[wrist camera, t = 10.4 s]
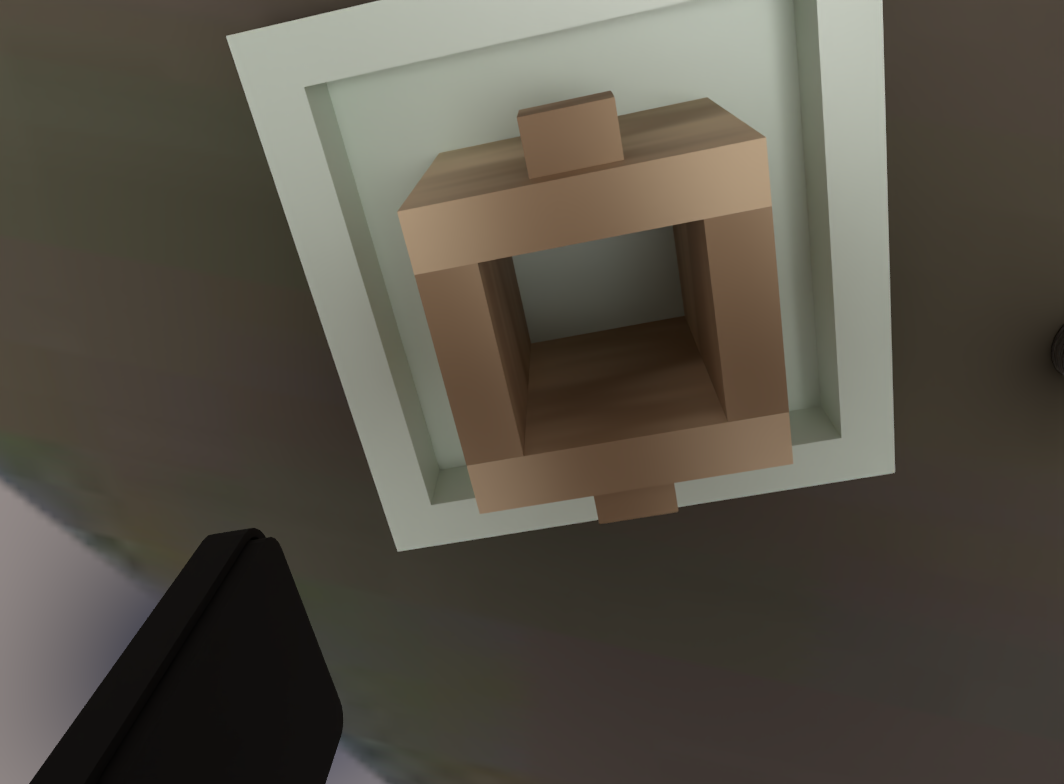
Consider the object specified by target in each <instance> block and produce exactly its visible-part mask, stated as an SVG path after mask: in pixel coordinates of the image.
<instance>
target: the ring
mask: <svg viewBox="0 0 1064 784" xmlns="http://www.w3.org/2000/svg"><path fill="white" fill-rule="evenodd" d="M517 122H518V127H519V132H520V136H519V137H514V138H509V139H505V140H500V141H495V142H490V143H485V144H481V145H476V146H471V147H466V148H461V149H457V150H452V151H447V152H442V153H439V154H438V155H437V157H436V158H435V160H434V161H433V162H432V164H431V165H430V167H429V168H428V169H427V171H426V172H425V174H424V175H423V176H422V178H421V179H420V181H419V182H418V183H417V185H416V186H415V187H414V189H413V190H412V192H411V193H410V194H409V196H408V197H407V199H406V200H405V201H404V203H403V204H402V206H401V207H400V208H399V210H398V211H397V214H398V217H399V221H400V225H401V228H402V232H403V235H404V239H405V243H406V246H407V250H408V254H409V257H410V261H411V265H412V268H413V272H414V276H415V279H416V283H417V287H418V290H419V294H420V298H421V301H422V305H423V309H424V312H425V316H426V320H427V323H428V327H429V330H430V334H431V338H432V341H433V345H434V349H435V352H436V356H437V360H438V363H439V367H440V371H441V374H442V378H443V382H444V385H445V389H446V393H447V396H448V400H449V404H450V407H451V411H452V414H453V418H454V422H455V425H456V429H457V433H458V436H459V440H460V444H461V447H462V451H463V455H464V458H465V462H466V466H467V469H468V473H469V477H470V480H471V484H472V488H473V491H474V495H475V499H476V502H477V506H478V509H479V513H480V514H484V513H490V512H496V511H502V510H509V509H515V508H521V507H527V506H534V505H540V504H546V503H552V502H559V501H565V500H571V499H577V498H584V497H590V496H594V501H595V505H596V510H597V515H598V520H599V524H604V523H611V522H617V521H623V520H630V519H636V518H643V517H649V516H655V515H662V514H668V513H675V512H679V511H678V504H677V498H676V491H675V485H674V483H677V482H684V481H690V480H696V479H702V478H709V477H715V476H721V475H727V474H734V473H740V472H746V471H753V470H759V469H765V468H771V467H778V466H784V465H790V464H793V453H792V441H791V429H790V417H789V405H788V393H787V381H786V369H785V357H784V345H783V333H782V321H781V309H780V297H779V285H778V273H777V261H776V250H775V238H774V226H773V214H772V202H771V190H770V178H769V166H768V154H767V142H766V137H765V136H763V135H762V134H761V133H759V132H758V131H756V130H755V129H753V128H752V127H750V126H749V125H747V124H746V123H744V122H743V121H741V120H740V119H738V118H737V117H736V116H734V115H733V114H731V113H730V112H728V111H727V110H725V109H724V108H722V107H721V106H719V105H718V104H716V103H715V102H713V101H712V100H710V99H709V98H708V97H706V98H701V99H697V100H692V101H687V102H682V103H677V104H673V105H668V106H663V107H658V108H653V109H649V110H644V111H639V112H634V113H629V114H625V115H620V116H617V109H616V103H615V97H614V95H613V93H612V92H611V91H606V92H601V93H597V94H592V95H587V96H582V97H578V98H573V99H568V100H564V101H559V102H554V103H549V104H545V105H540V106H535V107H531V108H526V109H521V110H519V112H518V115H517ZM672 225H673V232H674V240H675V247H676V255H677V262H678V269H679V277H680V284H681V292H682V299H683V307H684V314H685V316H680V317H675V318H669V319H664V320H658V321H653V322H647V323H642V324H636V325H630V326H625V327H619V328H614V329H608V330H603V331H597V332H592V333H586V334H581V335H575V336H570V337H564V338H559V339H553V340H548V341H542V342H537V343H531V341H530V336H529V332H528V327H527V322H526V318H525V313H524V309H523V304H522V300H521V295H520V291H519V286H518V282H517V277H516V273H515V268H514V264H513V259H512V256H516V255H521V254H526V253H532V252H537V251H542V250H547V249H552V248H558V247H563V246H568V245H573V244H578V243H584V242H589V241H594V240H599V239H604V238H609V237H615V236H620V235H625V234H630V233H635V232H641V231H646V230H651V229H656V228H661V227H666V226H672Z"/></svg>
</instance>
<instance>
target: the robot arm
mask: <svg viewBox="0 0 1064 784" xmlns="http://www.w3.org/2000/svg"><path fill="white" fill-rule="evenodd" d="M342 728H343V712H342V706H341V702H340V699H339V697H338V694H337V691H336V689H335V686H334V684H333V681H332V678H331V676H330V673H329V671H328V668H327V665H326V663H325V660H324V658H323V655H322V652H321V650H320V647H319V645H318V642H317V639H316V637H315V634H314V632H313V629H312V626H311V624H310V621H309V619H308V616H307V613H306V611H305V608H304V606H303V603H302V600H301V598H300V595H299V593H298V590H297V587H296V585H295V582H294V579H293V577H292V574H291V572H290V569H289V566H288V564H287V561H286V559H285V556H284V553H283V551H282V548H281V546H280V544H279V542H278V541H277V540H276V539H275V538H272V537H269V538H266V537H265V535H264V534H263V533H262V532H261V531H260V530H258V529H256V528H250V529H244V530H237V531H231V532H224V533H218V534H212V535H208V536H207V537H206V538H205V539H204V540H203V541H202V543H201V544H200V546H199V547H198V548H197V550H196V551H195V553H194V554H193V555H192V557H191V558H190V560H189V561H188V562H187V564H186V565H185V567H184V568H183V569H182V571H181V572H180V574H179V575H178V576H177V578H176V579H175V581H174V582H173V583H172V585H171V586H170V588H169V589H168V590H167V592H166V593H165V595H164V596H163V597H162V599H161V600H160V602H159V603H158V604H157V606H156V607H155V609H154V610H153V611H152V613H151V614H150V616H149V617H148V618H147V620H146V621H145V623H144V624H143V625H142V627H141V628H140V630H139V631H138V632H137V634H136V635H135V636H134V638H133V639H132V641H131V642H130V643H129V645H128V646H127V648H126V649H125V651H124V652H123V653H122V655H121V656H120V657H119V659H118V660H117V662H116V663H115V664H114V666H113V667H112V669H111V670H110V672H109V673H108V674H107V676H106V677H105V679H104V680H103V682H102V683H101V684H100V685H99V687H98V688H97V690H96V691H95V692H94V694H93V695H92V697H91V698H90V699H89V701H88V702H87V704H86V705H85V706H84V708H83V709H82V711H81V712H80V713H79V715H78V716H77V718H76V719H75V721H74V722H73V723H72V725H71V726H70V727H69V729H68V730H67V732H66V733H65V734H64V736H63V737H62V739H61V740H60V741H59V743H58V744H57V746H56V747H55V748H54V750H53V751H52V753H51V754H50V755H49V757H48V758H47V760H46V761H45V763H44V764H43V765H42V767H41V768H40V769H39V771H38V772H37V774H36V775H35V776H34V778H33V779H32V781H31V782H30V783H29V784H325V783H326V780H327V777H328V774H329V771H330V768H331V765H332V761H333V759H334V755H335V753H336V750H337V746H338V743H339V740H340V737H341V733H342Z"/></svg>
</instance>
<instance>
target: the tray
mask: <svg viewBox="0 0 1064 784" xmlns="http://www.w3.org/2000/svg"><path fill="white" fill-rule="evenodd" d="M226 38H227V41H228V44H229V47H230V50H231V53H232V56H233V59H234V62H235V65H236V68H237V71H238V74H239V77H240V80H241V83H242V86H243V89H244V92H245V95H246V98H247V101H248V104H249V107H250V110H251V113H252V116H253V119H254V122H255V125H256V128H257V131H258V134H259V137H260V140H261V143H262V146H263V149H264V152H265V155H266V158H267V161H268V164H269V167H270V170H271V173H272V176H273V179H274V182H275V185H276V188H277V191H278V194H279V197H280V200H281V203H282V206H283V209H284V212H285V215H286V218H287V221H288V224H289V227H290V230H291V233H292V236H293V239H294V242H295V245H296V248H297V251H298V254H299V257H300V260H301V263H302V266H303V269H304V272H305V275H306V278H307V281H308V284H309V287H310V290H311V293H312V296H313V299H314V302H315V305H316V308H317V311H318V314H319V317H320V320H321V323H322V326H323V329H324V332H325V335H326V338H327V341H328V344H329V347H330V350H331V353H332V356H333V359H334V362H335V365H336V368H337V371H338V374H339V377H340V380H341V383H342V386H343V389H344V392H345V395H346V398H347V401H348V404H349V407H350V410H351V413H352V416H353V419H354V422H355V425H356V428H357V431H358V434H359V437H360V440H361V443H362V446H363V449H364V452H365V455H366V458H367V461H368V464H369V467H370V470H371V473H372V476H373V479H374V482H375V485H376V488H377V491H378V494H379V497H380V500H381V503H382V506H383V509H384V512H385V515H386V518H387V521H388V524H389V527H390V530H391V533H392V536H393V539H394V542H395V545H396V548H397V551H398V552H399V551H405V550H411V549H418V548H424V547H430V546H437V545H443V544H449V543H456V542H462V541H468V540H474V539H481V538H487V537H493V536H500V535H506V534H512V533H519V532H525V531H531V530H538V529H544V528H550V527H556V526H563V525H569V524H575V523H582V522H588V521H594V520H598V515H597V510H596V505H595V501H594V496H590V497H584V498H577V499H571V500H565V501H559V502H552V503H546V504H540V505H534V506H527V507H521V508H515V509H509V510H502V511H496V512H490V513H484V514H480V513H479V509H478V506H477V502H476V499H475V495H474V491H473V488H472V484H471V480H470V477H469V473H468V469H467V466H466V462H465V458H464V455H463V451H462V447H461V444H460V440H459V436H458V433H457V429H456V425H455V422H454V418H453V414H452V411H451V407H450V404H449V400H448V396H447V393H446V389H445V385H444V382H443V378H442V374H441V371H440V367H439V363H438V360H437V356H436V352H435V349H434V345H433V341H432V338H431V334H430V330H429V327H428V323H427V320H426V316H425V312H424V309H423V305H422V301H421V298H420V294H419V290H418V287H417V283H416V279H415V276H414V272H413V268H412V265H411V261H410V257H409V254H408V250H407V246H406V243H405V239H404V235H403V232H402V228H401V225H400V221H399V217H398V214H397V211H398V210H399V208H400V207H401V206H402V204H403V203H404V201H405V200H406V199H407V197H408V196H409V194H410V193H411V192H412V190H413V189H414V187H415V186H416V185H417V183H418V182H419V181H420V179H421V178H422V176H423V175H424V174H425V172H426V171H427V169H428V168H429V167H430V165H431V164H432V162H433V161H434V160H435V158H436V157H437V155H438V154H439V153H442V152H447V151H452V150H457V149H461V148H466V147H471V146H476V145H481V144H485V143H490V142H495V141H500V140H505V139H509V138H514V137H519V136H520V132H519V127H518V122H517V115H518V112H519V110H521V109H526V108H531V107H535V106H540V105H545V104H549V103H554V102H559V101H564V100H568V99H573V98H578V97H582V96H587V95H592V94H597V93H601V92H606V91H611V92H612V93H613V95H614V97H615V103H616V109H617V116H620V115H625V114H629V113H634V112H639V111H644V110H649V109H653V108H658V107H663V106H668V105H673V104H677V103H682V102H687V101H692V100H697V99H701V98H706V97H708V98H709V99H710V100H712V101H713V102H715V103H716V104H718V105H719V106H721V107H722V108H724V109H725V110H727V111H728V112H730V113H731V114H733V115H734V116H736V117H737V118H738V119H740V120H741V121H743V122H744V123H746V124H747V125H749V126H750V127H752V128H753V129H755V130H756V131H758V132H759V133H761V134H762V135H763V136H765V137H766V142H767V154H768V166H769V178H770V190H771V202H772V214H773V226H774V238H775V250H776V261H777V273H778V285H779V297H780V309H781V321H782V333H783V345H784V357H785V369H786V381H787V393H788V405H789V417H790V429H791V441H792V453H793V464H790V465H784V466H778V467H771V468H765V469H759V470H753V471H746V472H740V473H734V474H727V475H721V476H715V477H709V478H702V479H696V480H690V481H684V482H677V483H674V485H675V491H676V498H677V504H678V507H683V506H689V505H695V504H702V503H708V502H714V501H721V500H727V499H733V498H739V497H746V496H752V495H758V494H765V493H771V492H777V491H784V490H790V489H796V488H803V487H809V486H815V485H821V484H828V483H834V482H840V481H847V480H853V479H859V478H866V477H872V476H878V475H885V474H891V473H895V450H894V413H893V376H892V339H891V302H890V265H889V227H888V190H887V153H886V116H885V79H884V42H883V5H882V0H379V1H375V2H370V3H366V4H362V5H358V6H353V7H349V8H345V9H340V10H336V11H332V12H327V13H323V14H319V15H315V16H310V17H306V18H302V19H297V20H293V21H289V22H284V23H280V24H276V25H272V26H267V27H263V28H259V29H254V30H250V31H246V32H242V33H237V34H233V35H229V36H226ZM512 259H513V264H514V268H515V273H516V277H517V282H518V286H519V291H520V295H521V300H522V304H523V309H524V313H525V318H526V322H527V327H528V332H529V336H530V341H531V343H537V342H542V341H548V340H553V339H559V338H564V337H570V336H575V335H581V334H586V333H592V332H597V331H603V330H608V329H614V328H619V327H625V326H630V325H636V324H642V323H647V322H653V321H658V320H664V319H669V318H675V317H680V316H685V314H684V307H683V299H682V292H681V284H680V277H679V269H678V262H677V255H676V247H675V240H674V232H673V225H672V226H666V227H661V228H656V229H651V230H646V231H641V232H635V233H630V234H625V235H620V236H615V237H609V238H604V239H599V240H594V241H589V242H584V243H578V244H573V245H568V246H563V247H558V248H552V249H547V250H542V251H537V252H532V253H526V254H521V255H516V256H512Z"/></svg>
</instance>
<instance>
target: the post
mask: <svg viewBox="0 0 1064 784" xmlns="http://www.w3.org/2000/svg"><path fill="white" fill-rule="evenodd" d="M1052 361H1053V364H1054V366H1055V368H1056V369H1057V370H1058V371H1059V372H1060V373H1061V374H1062V375H1063V376H1064V326H1063V327H1062V328H1061V329H1060V331H1059V332H1058V334H1057V335H1056V337H1055V340H1054V342H1053V346H1052Z"/></svg>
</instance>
